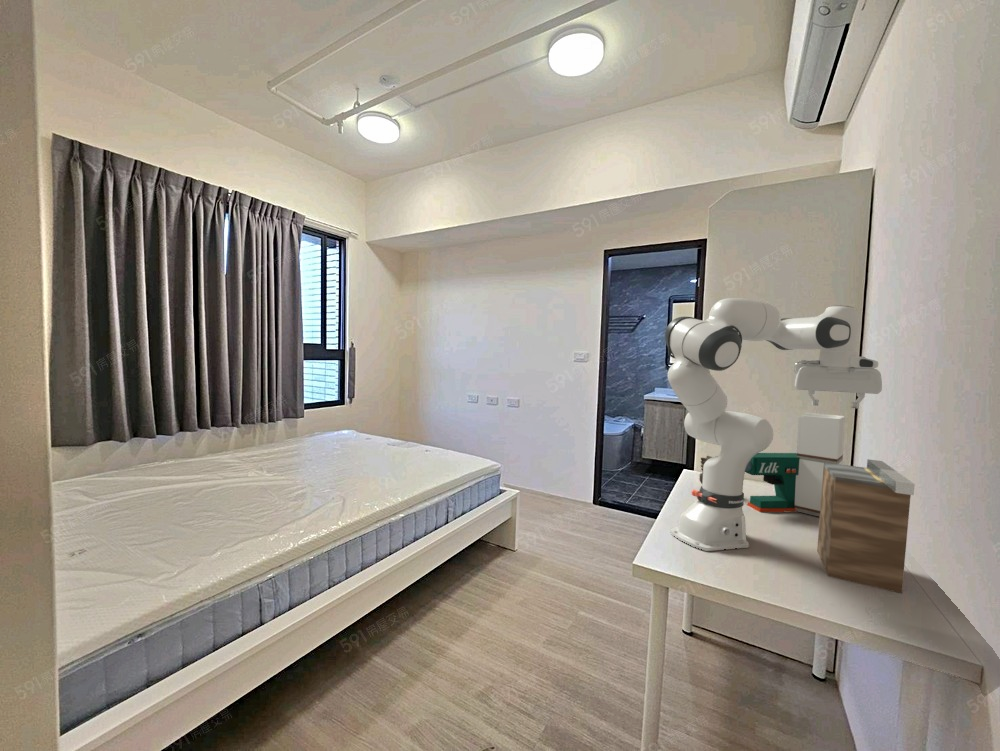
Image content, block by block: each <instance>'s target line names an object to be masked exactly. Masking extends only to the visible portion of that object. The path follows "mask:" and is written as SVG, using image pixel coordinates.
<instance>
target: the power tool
mask: <svg viewBox="0 0 1000 751" xmlns="http://www.w3.org/2000/svg"><path fill="white" fill-rule="evenodd" d="M799 459H800V457H797V452H759V453H757V454H756V455H754V456H753V457H752V458H751V460H750V461H749V462H748V464H747V466H746V469H745V473H747V474H749V475H751V476H763V477H762V480H763V482H765V483H767V484H770V485H772V486H773V485H774V486H775V492H776V493H775V495H750V496H749V497H750V498H749V501H748V502H747V504H746V505H747V506H748V507H749V508H751V509H753V510H755V511H757V512H759V513H784V511H796V509H795V508H794V507H795V485H796V475H798V473H799Z"/></svg>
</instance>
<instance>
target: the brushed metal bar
mask: <svg viewBox="0 0 1000 751" xmlns="http://www.w3.org/2000/svg"><path fill="white" fill-rule="evenodd" d="M866 468H867V469H868V470H869V471H870V472H872V473H873V474H874V475H875V476H876V477H878V478H879V479H880V480H881V481H882V482H883V483H885V484H886V485H887V486H888V487H889V488H890V489H892V490H893V491H894V492H895V493H901V494H908V495H911V496H914V495H915V494H914V493H915V485H916V484H915V483H913V482H912V481H911V480H910V479H908V478H907V477H905V476H904V475H902V474H901V473H900V472H898V471H897V470H895V469H894V467H893V468H892V467H891V466H890V465H888V464H887V463H886V462H884V461H883V460H876V459H867V462H866Z"/></svg>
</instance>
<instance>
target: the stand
mask: <svg viewBox="0 0 1000 751" xmlns="http://www.w3.org/2000/svg"><path fill="white" fill-rule="evenodd" d="M911 498H912V495H908V494H901V493H895V492H894V491H893V490H892V489H890V488H889V487H888V486H887V485H886V484H885V483H883V482H882V481H881V480H880V479H879V478H878V477H876V476H875V475H874V474H873V473H872V472H870V471H869V470H868V469H867V467H865V466H864V467H863V466H856V465H855V466H854V465H846V464H842V465H840V464H832V463H824V468H823V481H822V494H821V507H820V517H819V520H818V521H819V524H818V534H817V549H816V550H817V553H818V556H819V558H820V560H821V563H822V566H823V567H824V570H825V573H826V575H827V576H828V577H830V578H833V579H834V578H835V579H838V580H844V581H848V582H851V583H856V584H861V585H865V586H867V587H868V586H869V587H873V588H878V589H881V590H886V591H890V592H895V593H898V594H902V593H903V585H904V575H905V574H904V572H905V564H906V562H905V561H906V553H907V552H906V550H907V539H908V530H909V529H908V528H909V516H910V507H911V505H910V504H911Z"/></svg>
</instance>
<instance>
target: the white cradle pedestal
mask: <svg viewBox="0 0 1000 751" xmlns="http://www.w3.org/2000/svg"><path fill="white" fill-rule="evenodd" d="M845 417H846V416H845V415H836V414H825V413H824V414H823V413H815V412H814V413H812V412H804V414H798V418H797V419H798V421H797V422H798V424H797V425H798V426H797V441H796V442H797V446H796V448H797V449H796V453H797V457H800V459H799V473H798V475H796V485H795V507H794V508H795V509H796V511H798V513H803V514H807V515H811V516H815V517H819V518H820V507H821V494H822V481H823V468H824V463H832V464H840V465H843V462H844V461H843V459H844V458H843V456H844V437H845V422H846V421H845V419H846V418H845Z"/></svg>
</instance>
